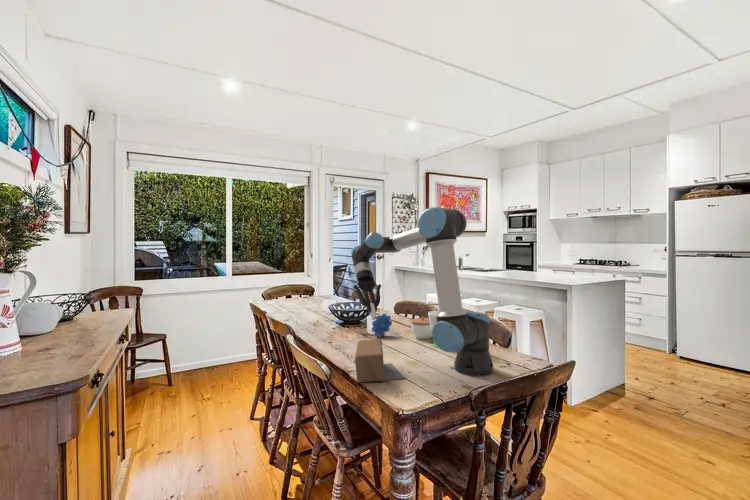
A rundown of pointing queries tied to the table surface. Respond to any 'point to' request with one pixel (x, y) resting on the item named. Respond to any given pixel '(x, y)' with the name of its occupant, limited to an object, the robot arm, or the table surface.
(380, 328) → the grapes
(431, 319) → the cup
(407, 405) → the table surface
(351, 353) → the table surface
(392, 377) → the rubber mat
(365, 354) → the wooden block
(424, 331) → the lidded bowl
